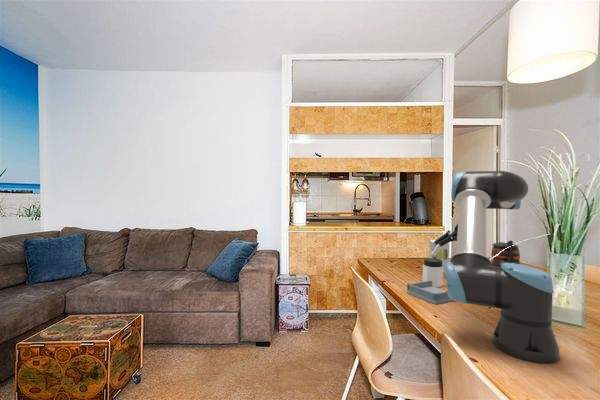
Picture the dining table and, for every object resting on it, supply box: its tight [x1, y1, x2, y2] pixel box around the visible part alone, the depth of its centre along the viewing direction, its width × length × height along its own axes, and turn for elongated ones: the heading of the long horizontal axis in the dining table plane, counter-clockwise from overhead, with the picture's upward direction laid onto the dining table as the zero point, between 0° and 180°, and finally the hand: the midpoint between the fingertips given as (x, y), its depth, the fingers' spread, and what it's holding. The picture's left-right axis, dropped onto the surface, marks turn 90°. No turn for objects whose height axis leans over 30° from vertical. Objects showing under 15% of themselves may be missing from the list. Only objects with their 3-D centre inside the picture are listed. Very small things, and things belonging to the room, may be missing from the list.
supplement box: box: [428, 239, 450, 274], centre depth 173 cm, size 10×9×17 cm
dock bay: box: [406, 280, 453, 305], centre depth 130 cm, size 15×14×4 cm
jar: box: [422, 257, 444, 288], centre depth 146 cm, size 9×8×12 cm
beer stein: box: [490, 240, 521, 268], centre depth 162 cm, size 19×15×20 cm
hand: (444, 258), depth 150 cm, fingers open, 13 cm apart
